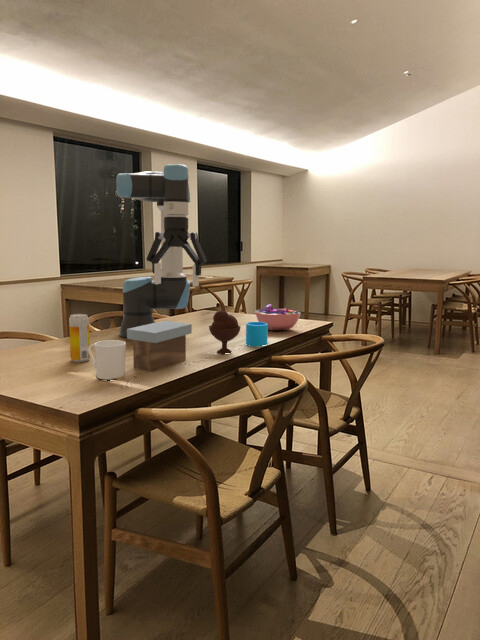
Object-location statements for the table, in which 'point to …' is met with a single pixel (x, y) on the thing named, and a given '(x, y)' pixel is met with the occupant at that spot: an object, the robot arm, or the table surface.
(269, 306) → the cell model
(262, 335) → the mug
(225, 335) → the ice cream bowl
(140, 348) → the box
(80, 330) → the beer can
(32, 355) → the table surface
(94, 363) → the mug
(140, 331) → the lid
